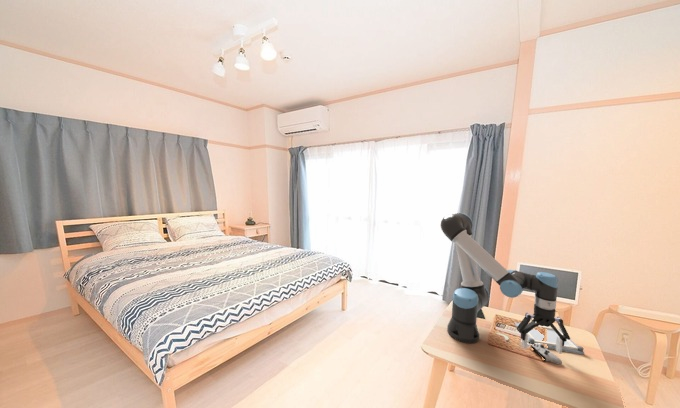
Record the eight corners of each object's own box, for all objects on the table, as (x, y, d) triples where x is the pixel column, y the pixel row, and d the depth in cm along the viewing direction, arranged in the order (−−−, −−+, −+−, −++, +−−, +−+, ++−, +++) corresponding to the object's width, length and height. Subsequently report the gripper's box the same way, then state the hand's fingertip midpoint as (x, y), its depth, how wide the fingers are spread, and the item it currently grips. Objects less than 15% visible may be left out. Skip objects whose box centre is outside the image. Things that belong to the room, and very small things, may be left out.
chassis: (530, 345, 117) (530, 340, 117) (513, 324, 135) (514, 319, 134) (584, 354, 112) (584, 349, 111) (559, 331, 129) (560, 326, 129)
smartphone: (472, 315, 142) (468, 303, 156) (472, 317, 142) (468, 304, 156) (485, 318, 139) (480, 305, 153) (485, 320, 140) (479, 306, 154)
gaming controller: (564, 363, 105) (554, 352, 105) (553, 372, 106) (543, 361, 105) (543, 345, 116) (534, 336, 116) (533, 353, 117) (524, 344, 116)
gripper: (517, 306, 108) (514, 349, 110) (583, 314, 102) (579, 359, 104) (510, 298, 116) (507, 339, 117) (571, 305, 109) (567, 348, 111)
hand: (541, 349), depth 111 cm, fingers open, 13 cm apart
